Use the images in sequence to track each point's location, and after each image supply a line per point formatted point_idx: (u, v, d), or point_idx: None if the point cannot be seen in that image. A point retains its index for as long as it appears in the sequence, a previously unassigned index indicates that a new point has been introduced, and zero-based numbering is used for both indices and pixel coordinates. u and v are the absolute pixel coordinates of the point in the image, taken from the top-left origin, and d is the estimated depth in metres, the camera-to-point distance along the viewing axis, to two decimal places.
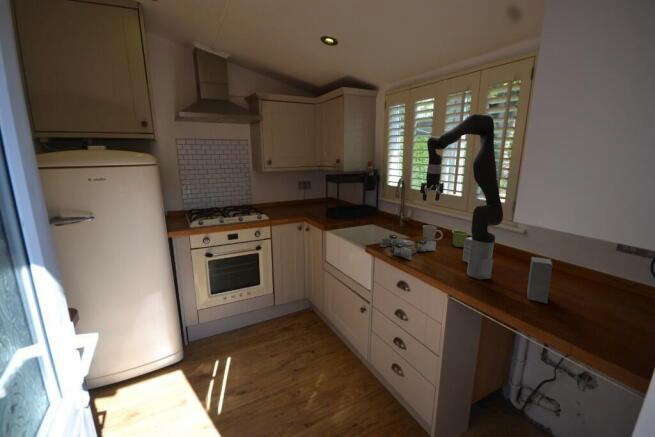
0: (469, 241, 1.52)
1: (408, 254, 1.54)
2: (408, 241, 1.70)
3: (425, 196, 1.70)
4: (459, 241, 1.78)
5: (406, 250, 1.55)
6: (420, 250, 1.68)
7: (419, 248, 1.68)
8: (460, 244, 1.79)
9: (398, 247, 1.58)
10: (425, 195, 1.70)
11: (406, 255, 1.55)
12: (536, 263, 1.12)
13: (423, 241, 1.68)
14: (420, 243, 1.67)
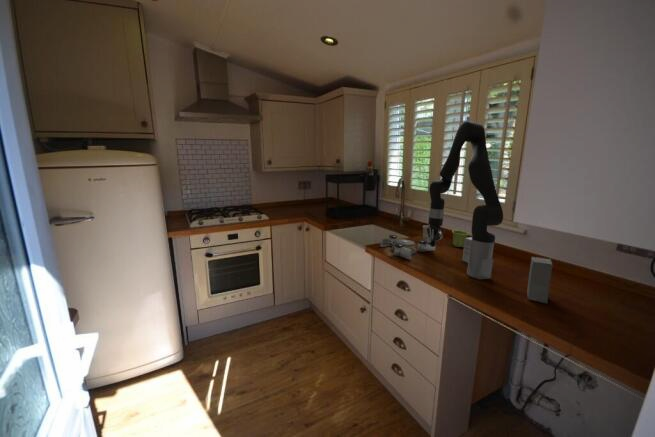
0: (469, 241, 1.52)
1: (408, 254, 1.54)
2: (408, 241, 1.70)
3: None
4: (459, 241, 1.78)
5: (406, 250, 1.55)
6: (420, 250, 1.68)
7: (419, 248, 1.68)
8: (460, 244, 1.79)
9: (398, 247, 1.58)
10: None
11: (406, 255, 1.55)
12: (536, 263, 1.12)
13: (423, 241, 1.68)
14: (420, 243, 1.67)
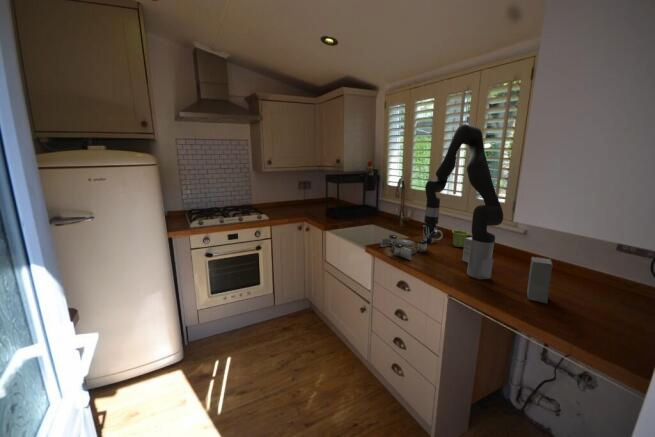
0: (469, 241, 1.52)
1: (408, 254, 1.54)
2: (408, 241, 1.70)
3: None
4: (459, 241, 1.78)
5: (406, 250, 1.55)
6: (423, 250, 1.67)
7: (422, 249, 1.67)
8: (460, 244, 1.79)
9: (398, 247, 1.58)
10: None
11: (406, 255, 1.55)
12: (536, 263, 1.12)
13: (422, 241, 1.69)
14: (423, 243, 1.66)
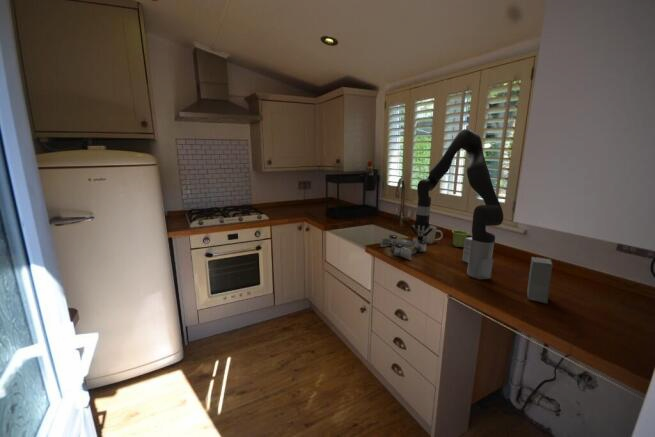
0: (469, 241, 1.52)
1: (408, 254, 1.54)
2: (408, 241, 1.70)
3: None
4: (459, 241, 1.78)
5: (406, 250, 1.55)
6: (425, 250, 1.68)
7: (425, 248, 1.67)
8: (460, 244, 1.79)
9: (398, 247, 1.58)
10: None
11: (406, 255, 1.55)
12: (536, 263, 1.12)
13: (422, 241, 1.69)
14: (426, 243, 1.67)
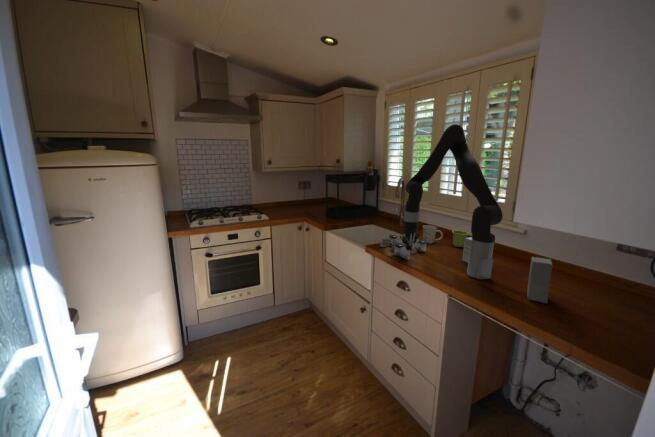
0: (469, 241, 1.52)
1: (406, 254, 1.54)
2: None
3: None
4: (459, 241, 1.78)
5: (405, 250, 1.55)
6: (425, 250, 1.68)
7: (425, 248, 1.67)
8: (460, 244, 1.79)
9: (397, 247, 1.58)
10: None
11: (405, 255, 1.55)
12: (536, 263, 1.12)
13: (422, 241, 1.69)
14: (426, 243, 1.67)
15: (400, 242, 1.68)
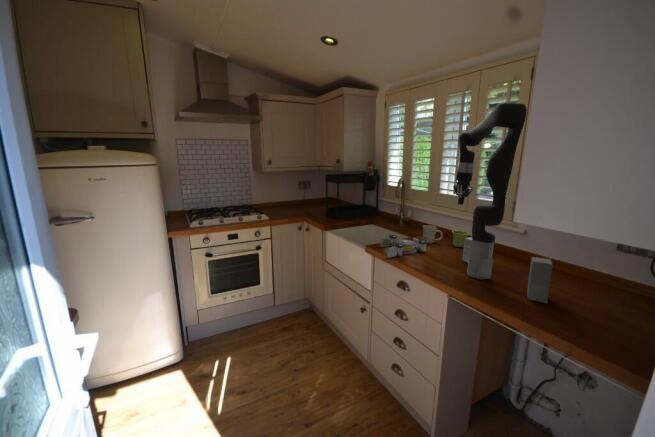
0: (469, 241, 1.52)
1: None
2: (408, 241, 1.70)
3: None
4: (459, 241, 1.78)
5: None
6: (425, 250, 1.68)
7: (425, 248, 1.67)
8: (460, 244, 1.79)
9: None
10: None
11: None
12: (536, 263, 1.12)
13: (422, 241, 1.69)
14: (426, 243, 1.67)
15: (400, 242, 1.68)
